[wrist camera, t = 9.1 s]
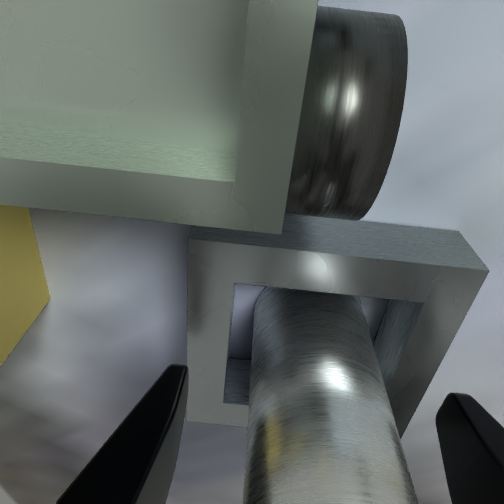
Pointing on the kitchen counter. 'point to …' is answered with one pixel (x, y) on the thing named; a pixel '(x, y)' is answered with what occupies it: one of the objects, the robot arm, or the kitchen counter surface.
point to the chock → (19, 277)
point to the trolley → (198, 109)
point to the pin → (319, 407)
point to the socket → (331, 281)
